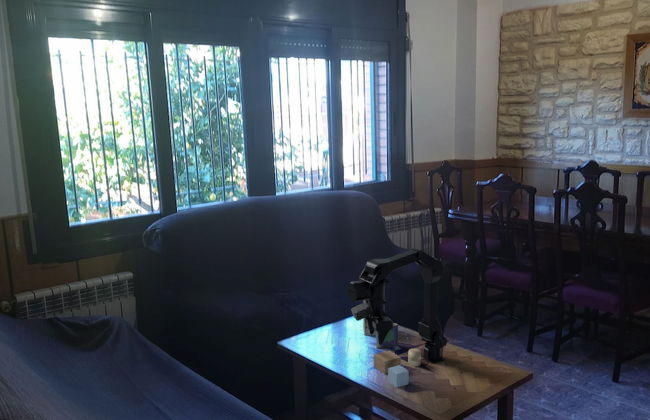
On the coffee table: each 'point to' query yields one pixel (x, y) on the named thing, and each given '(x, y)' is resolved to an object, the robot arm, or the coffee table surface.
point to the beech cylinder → (414, 357)
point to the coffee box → (365, 326)
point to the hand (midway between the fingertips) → (375, 339)
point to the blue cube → (398, 376)
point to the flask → (389, 338)
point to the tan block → (386, 361)
